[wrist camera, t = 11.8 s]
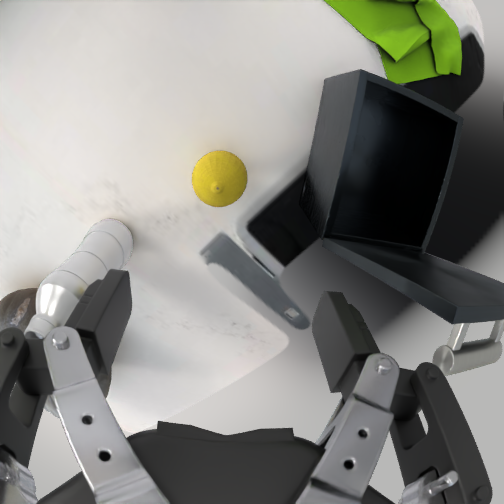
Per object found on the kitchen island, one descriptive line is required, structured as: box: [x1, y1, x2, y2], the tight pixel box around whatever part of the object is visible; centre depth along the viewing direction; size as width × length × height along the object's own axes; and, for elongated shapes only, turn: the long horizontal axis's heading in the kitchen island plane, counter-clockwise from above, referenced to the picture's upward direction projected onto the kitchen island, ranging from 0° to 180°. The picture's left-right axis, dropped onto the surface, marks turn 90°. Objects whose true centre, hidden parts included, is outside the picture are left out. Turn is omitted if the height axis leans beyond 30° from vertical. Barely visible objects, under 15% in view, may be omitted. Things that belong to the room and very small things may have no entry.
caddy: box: [299, 69, 463, 253], centre depth 27 cm, size 16×13×10 cm
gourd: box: [0, 288, 111, 418], centre depth 35 cm, size 25×25×17 cm
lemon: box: [192, 151, 247, 207], centre depth 28 cm, size 6×6×8 cm
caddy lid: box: [323, 238, 504, 376], centre depth 18 cm, size 16×13×5 cm
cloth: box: [324, 0, 462, 84], centre depth 20 cm, size 20×22×2 cm
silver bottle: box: [24, 219, 133, 339], centre depth 25 cm, size 6×7×20 cm
